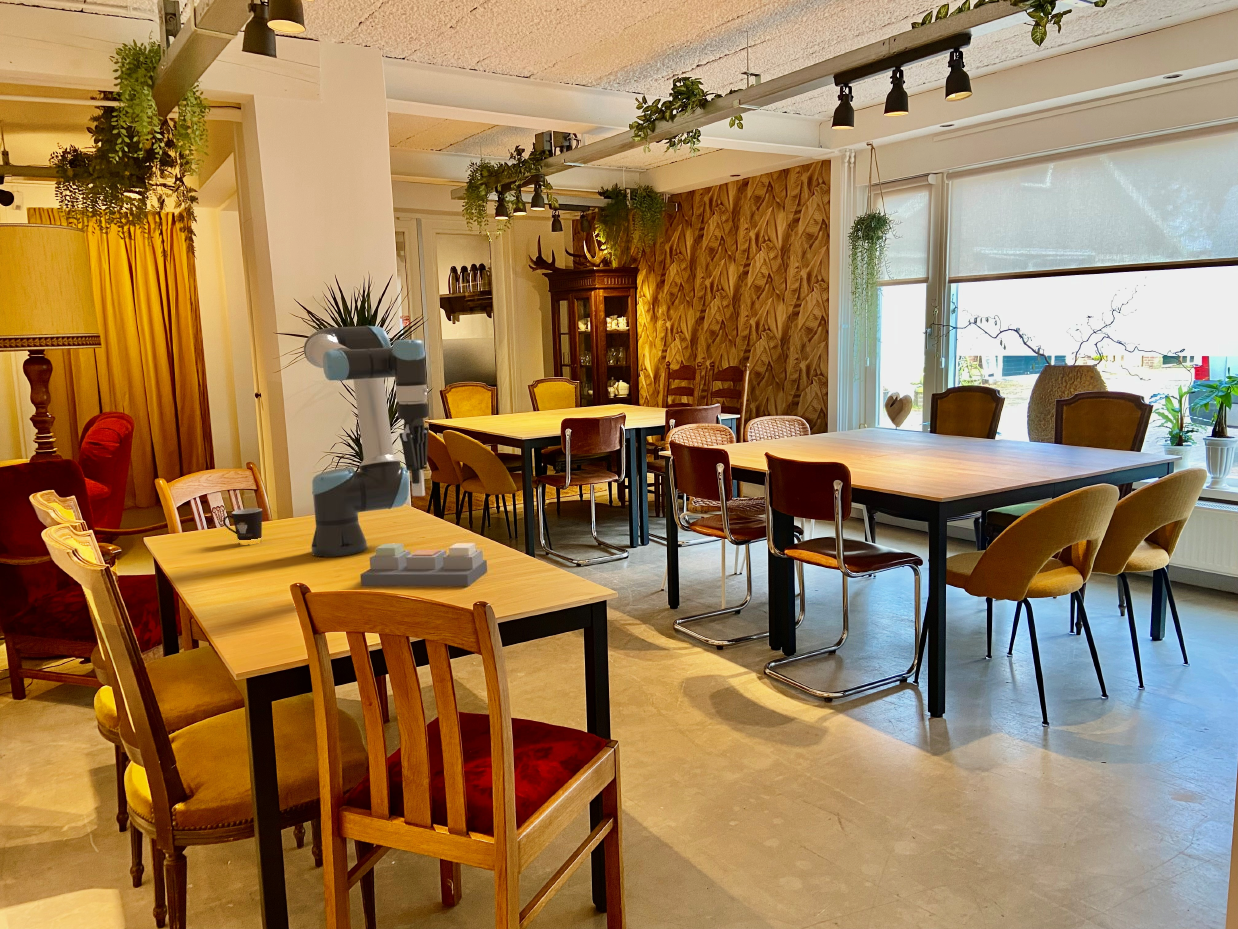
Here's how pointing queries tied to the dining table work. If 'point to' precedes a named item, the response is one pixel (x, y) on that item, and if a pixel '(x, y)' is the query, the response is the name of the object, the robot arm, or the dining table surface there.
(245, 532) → the coffee mug
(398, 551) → the sage key
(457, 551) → the cream key
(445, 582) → the key panel
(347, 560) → the dining table surface
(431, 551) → the terracotta key
